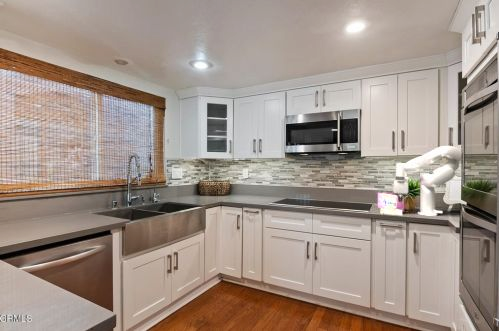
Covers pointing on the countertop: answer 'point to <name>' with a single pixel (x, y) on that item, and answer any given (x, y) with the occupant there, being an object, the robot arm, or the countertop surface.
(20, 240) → the countertop surface
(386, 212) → the trap board
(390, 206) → the block
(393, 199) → the gum box
